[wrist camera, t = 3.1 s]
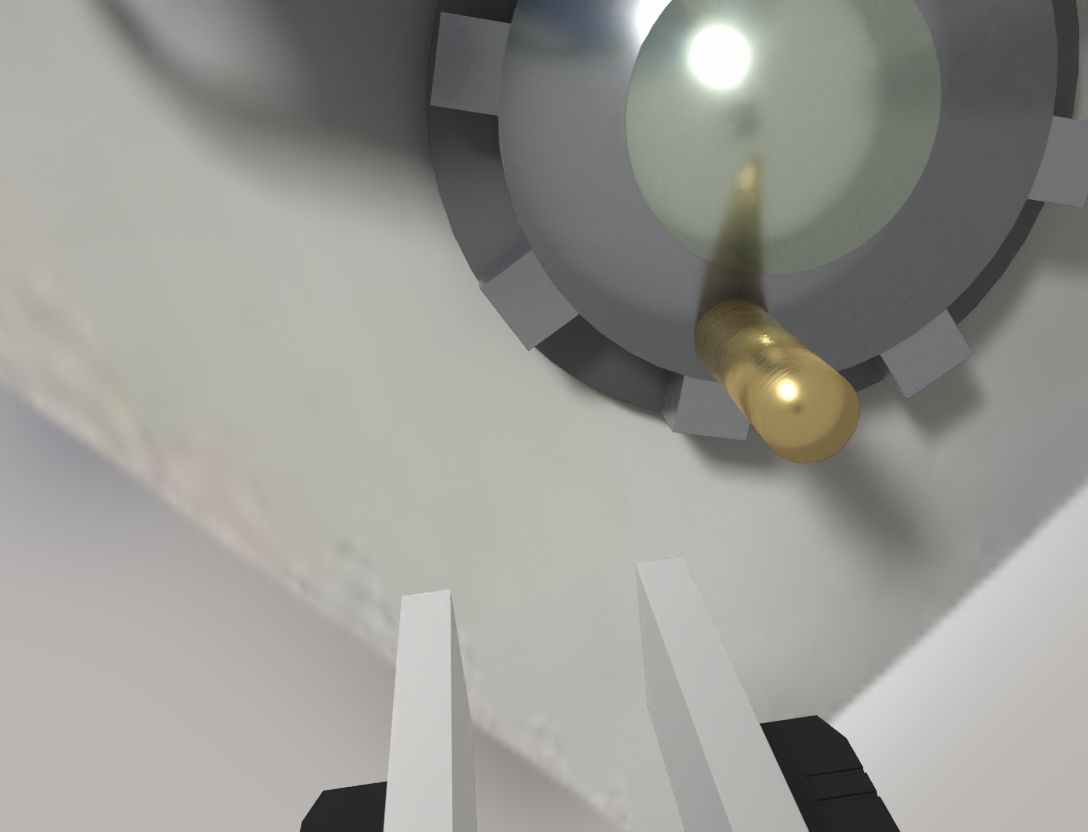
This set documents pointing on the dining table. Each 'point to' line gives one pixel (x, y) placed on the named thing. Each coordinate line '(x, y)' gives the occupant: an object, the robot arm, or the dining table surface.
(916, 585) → the dining table surface
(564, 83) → the sprocket
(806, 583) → the dining table surface
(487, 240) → the sprocket base
